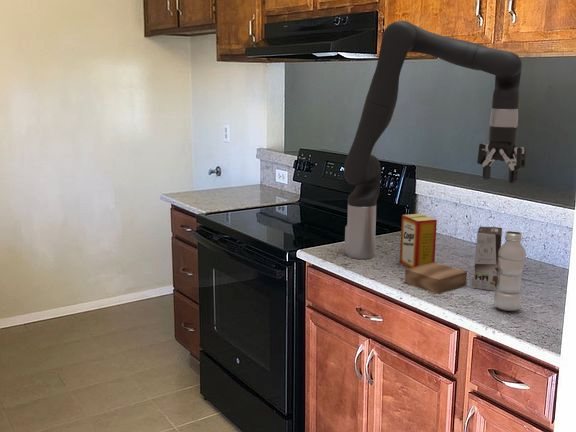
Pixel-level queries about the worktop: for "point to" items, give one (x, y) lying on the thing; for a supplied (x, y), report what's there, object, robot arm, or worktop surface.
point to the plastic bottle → (510, 273)
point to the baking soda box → (417, 240)
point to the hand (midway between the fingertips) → (499, 181)
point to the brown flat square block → (435, 277)
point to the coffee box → (487, 258)
